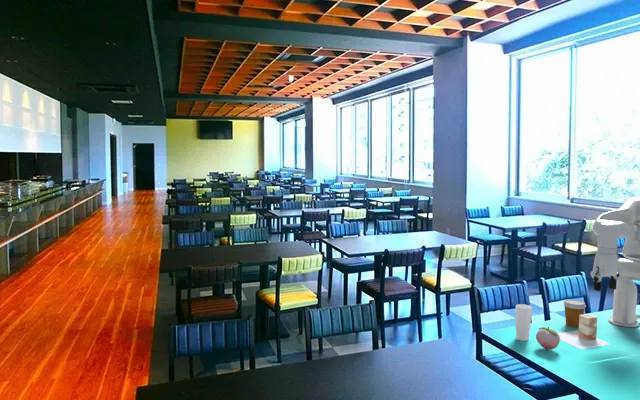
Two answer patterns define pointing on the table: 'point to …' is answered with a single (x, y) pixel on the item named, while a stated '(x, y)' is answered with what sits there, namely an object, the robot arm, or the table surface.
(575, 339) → the white square plate
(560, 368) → the table surface
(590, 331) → the maple block
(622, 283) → the robot arm
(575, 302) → the disposable coffee cup
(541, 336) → the decorative fruit
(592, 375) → the table surface
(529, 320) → the drinking glass
